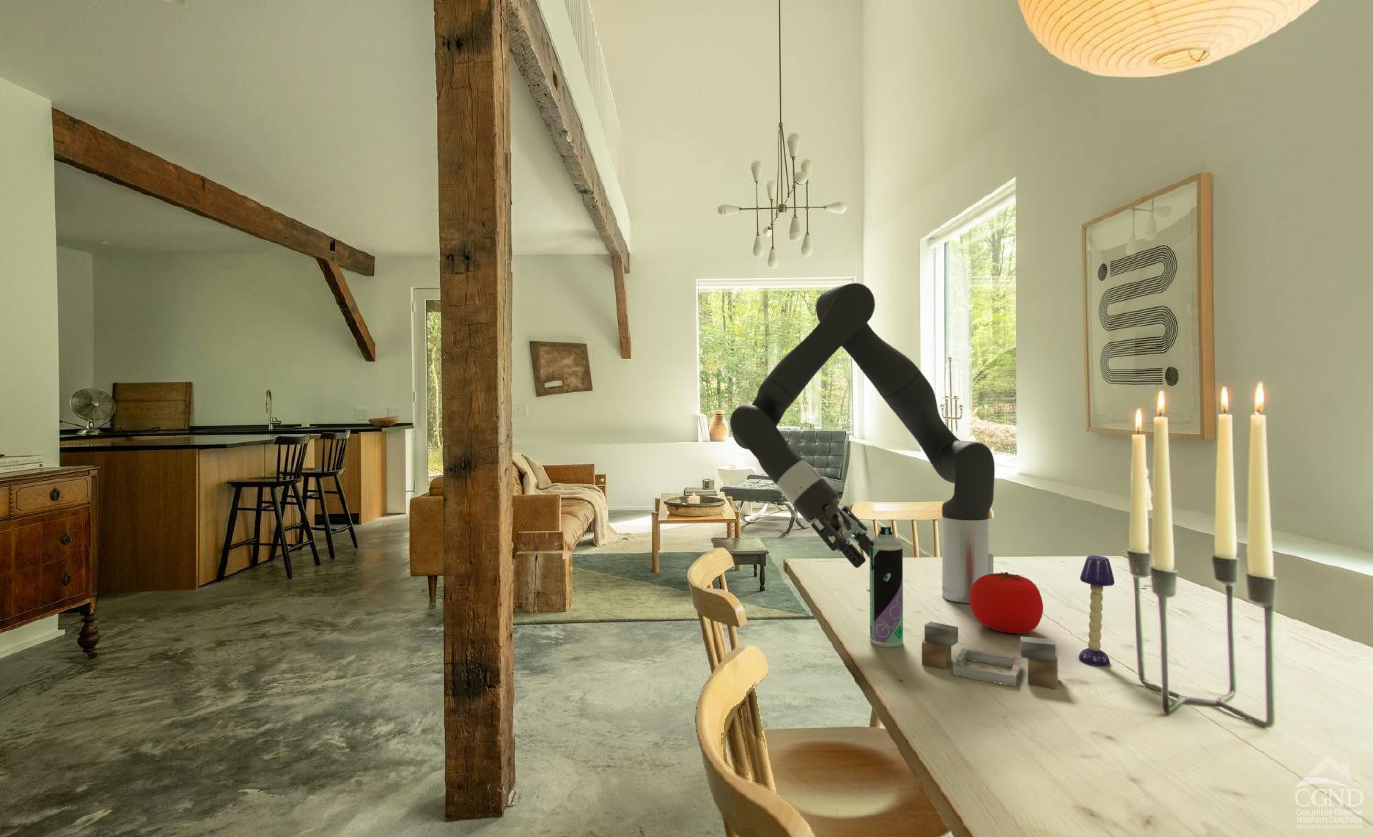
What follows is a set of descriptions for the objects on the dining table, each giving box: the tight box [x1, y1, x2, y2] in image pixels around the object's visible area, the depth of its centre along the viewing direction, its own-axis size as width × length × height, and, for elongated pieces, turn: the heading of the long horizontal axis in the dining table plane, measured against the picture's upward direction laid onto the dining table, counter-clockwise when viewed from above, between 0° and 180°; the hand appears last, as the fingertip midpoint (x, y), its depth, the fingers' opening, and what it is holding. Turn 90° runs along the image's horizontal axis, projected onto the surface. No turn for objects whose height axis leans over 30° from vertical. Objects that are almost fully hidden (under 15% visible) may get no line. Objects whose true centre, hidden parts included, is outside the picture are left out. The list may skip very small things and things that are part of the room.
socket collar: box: [952, 647, 1023, 688], centre depth 105 cm, size 9×9×2 cm
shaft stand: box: [921, 620, 1059, 690], centre depth 105 cm, size 19×4×6 cm, turn 59°
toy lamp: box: [1078, 554, 1115, 667], centre depth 108 cm, size 5×5×17 cm
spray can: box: [869, 526, 904, 648], centre depth 118 cm, size 6×6×20 cm
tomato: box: [969, 571, 1044, 634], centre depth 124 cm, size 12×12×10 cm
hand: (869, 559), depth 120 cm, fingers open, 8 cm apart
